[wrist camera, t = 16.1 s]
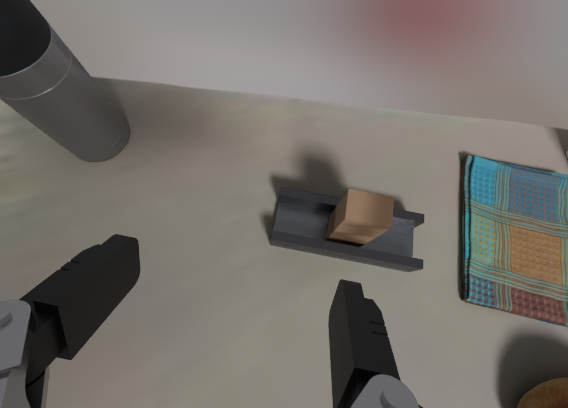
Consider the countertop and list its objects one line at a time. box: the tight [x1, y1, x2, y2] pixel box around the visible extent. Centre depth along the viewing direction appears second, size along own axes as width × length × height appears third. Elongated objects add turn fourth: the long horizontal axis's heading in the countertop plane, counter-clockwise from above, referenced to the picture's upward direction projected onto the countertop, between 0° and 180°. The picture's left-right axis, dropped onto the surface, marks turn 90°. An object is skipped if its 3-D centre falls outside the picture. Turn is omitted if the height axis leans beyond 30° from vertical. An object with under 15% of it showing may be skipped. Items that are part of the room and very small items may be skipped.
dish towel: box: [461, 155, 568, 327], centre depth 42 cm, size 17×23×2 cm
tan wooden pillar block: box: [326, 189, 394, 247], centre depth 35 cm, size 5×4×11 cm
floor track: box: [270, 187, 424, 272], centre depth 40 cm, size 20×8×4 cm, turn 79°
